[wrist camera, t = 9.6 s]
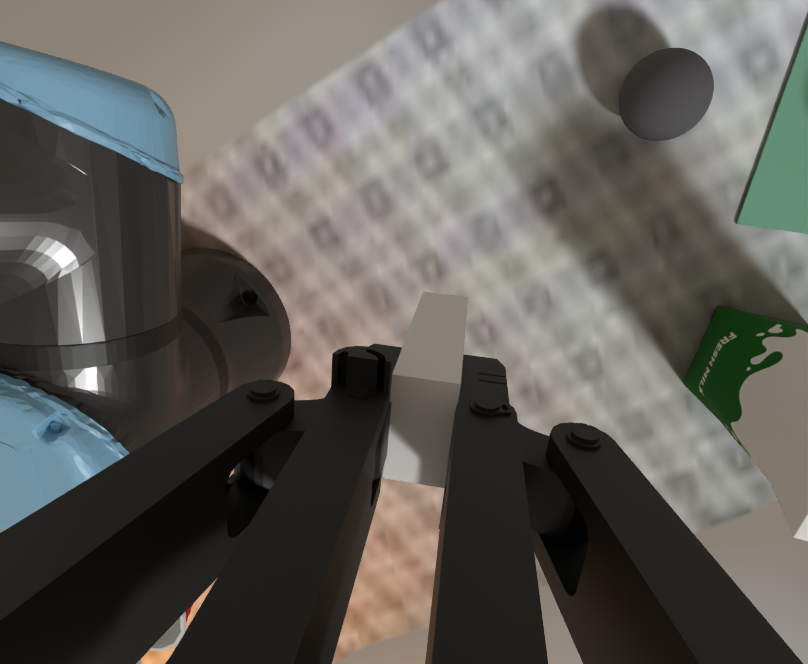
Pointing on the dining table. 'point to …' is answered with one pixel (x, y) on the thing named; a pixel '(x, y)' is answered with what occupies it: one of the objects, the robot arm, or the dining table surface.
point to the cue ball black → (666, 94)
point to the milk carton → (760, 398)
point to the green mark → (783, 159)
